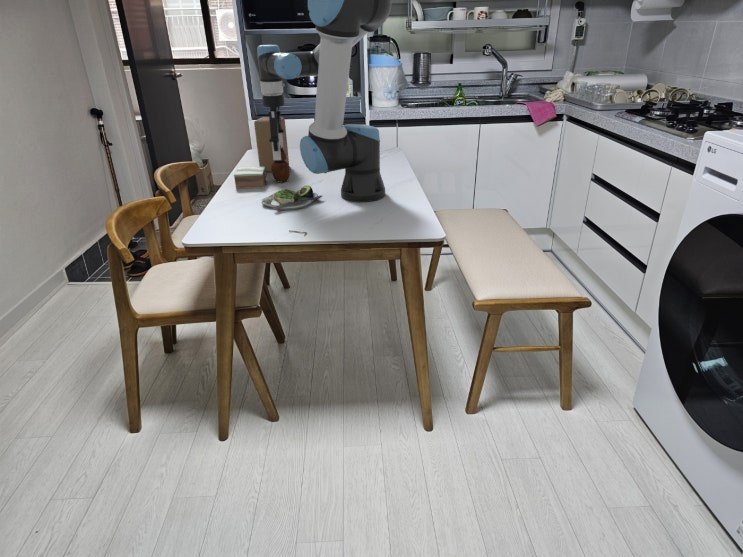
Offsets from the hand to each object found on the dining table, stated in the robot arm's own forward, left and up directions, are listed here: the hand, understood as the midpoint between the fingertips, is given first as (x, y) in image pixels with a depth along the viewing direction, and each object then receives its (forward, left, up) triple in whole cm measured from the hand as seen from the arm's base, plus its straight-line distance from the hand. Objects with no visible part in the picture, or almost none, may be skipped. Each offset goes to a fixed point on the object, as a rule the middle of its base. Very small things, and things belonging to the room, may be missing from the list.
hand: (278, 155), depth 178 cm
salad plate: (-25, -5, -10) cm, 28 cm away
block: (+18, +4, -10) cm, 21 cm away
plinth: (-2, +11, -10) cm, 15 cm away
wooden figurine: (0, 0, -10) cm, 10 cm away
